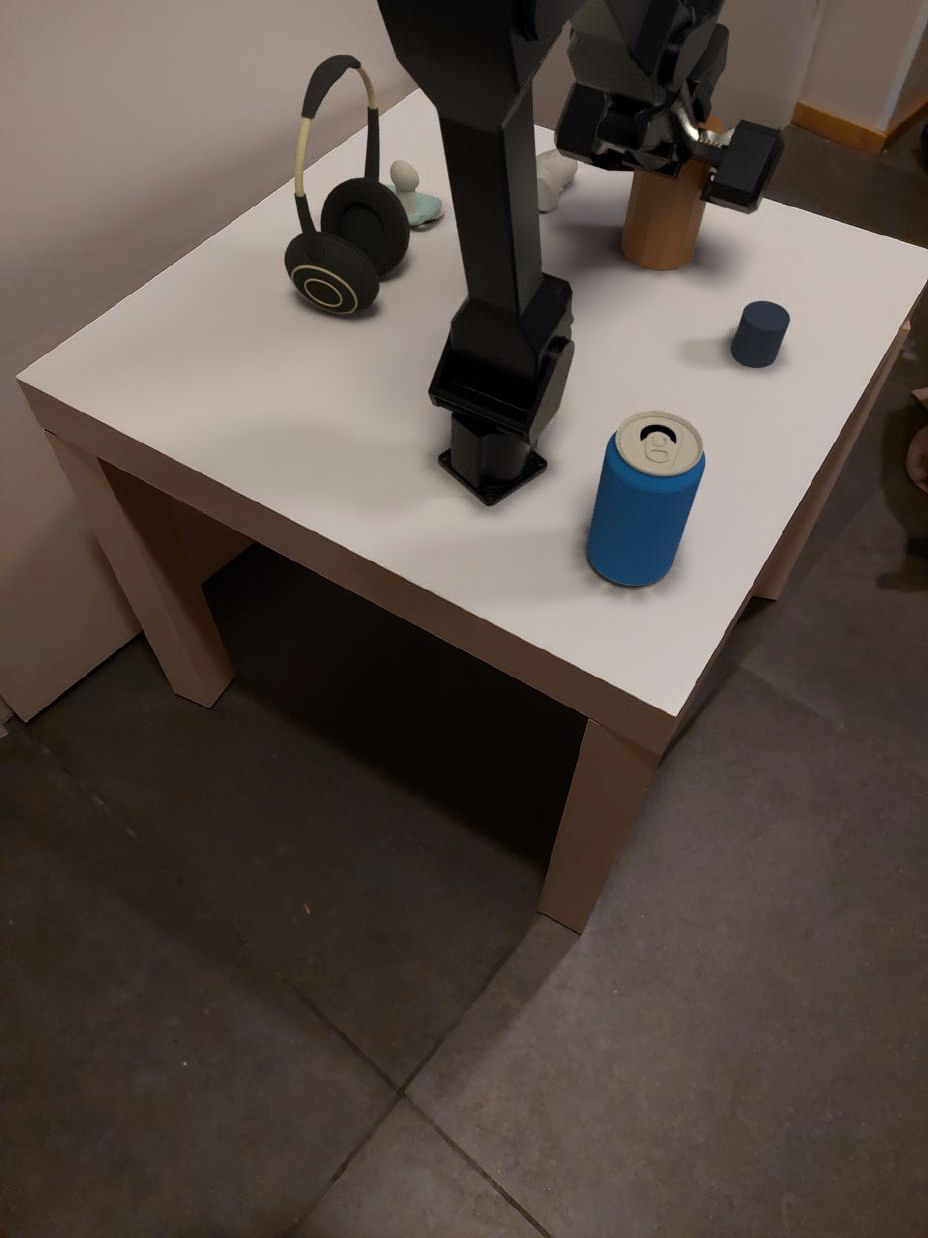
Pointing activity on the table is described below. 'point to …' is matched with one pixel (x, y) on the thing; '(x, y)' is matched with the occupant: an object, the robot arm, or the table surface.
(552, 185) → the pale two-lobed sculpture
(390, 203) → the headphones
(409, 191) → the pacifier
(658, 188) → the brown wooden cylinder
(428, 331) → the table surface
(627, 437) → the beverage can
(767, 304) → the dark navy cylinder
